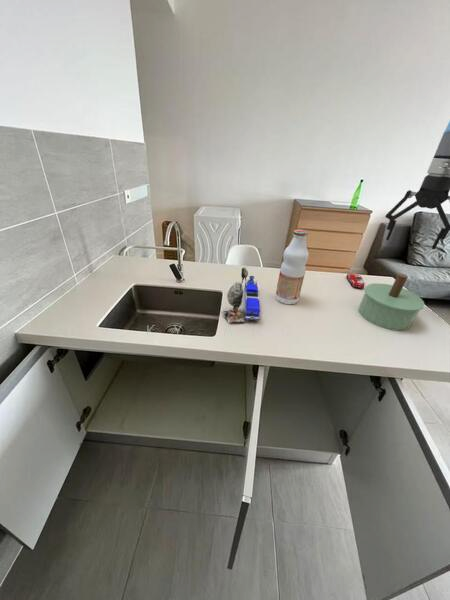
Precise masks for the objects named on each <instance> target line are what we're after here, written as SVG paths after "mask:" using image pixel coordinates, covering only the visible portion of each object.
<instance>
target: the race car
mask: <svg viewBox="0 0 450 600" xmlns="http://www.w3.org/2000/svg"><path fill="white" fill-rule="evenodd" d="M346 280H348V282H349V284H350V286H351V287H353V288H358V289H365V286H366V285H365V284H366V283H365V281H364V279H363V276H362V275H359V274H357V273H353V272H349V273H347V274H346Z"/></svg>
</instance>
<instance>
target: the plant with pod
mask: <svg viewBox="0 0 450 600" xmlns="http://www.w3.org/2000/svg"><path fill="white" fill-rule="evenodd" d="M240 275H241V281H238V282H237V281H236V282H234V283H233V284H232V285H231V286H230V287H229V289H228V291H227V293H226V299H227V302H228V304H229V305H230V306H231V307H232V309H229V310H224V311H222V315H223V317H224V318H225V319H226V320H227V322H228V324H231V323H243V324H244V323H245V322H246V319H245V313H244V312H242V311H241V310H240V309H239V308H240V307H241V305H242V303H243V298H244V297H243V296H244V289H243V288H244V287H243V283H244V282H245V281H246V282H247V281H248V280H247V278H248V277H249V272H248V269H247V268H246V267H242V268H241V273H240Z"/></svg>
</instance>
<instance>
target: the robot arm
mask: <svg viewBox="0 0 450 600" xmlns="http://www.w3.org/2000/svg"><path fill="white" fill-rule="evenodd" d="M447 123H448V124H447V126H446V127H445V129H444V132H442V136H441V138H440V141H439V143H438V145H437V147H436V150H435V154H434V156H433V158H432V159H431V162H430V164H429V167H428V169H427V171H426V173H427V175H426V176H424V178H423V180H422V182H421V185H420V187H419V189H418V191H413V190H411V189H409V190H407V191H406V193H405V194H404V196H403V197H402V198H401V199H400V200H399V201H398V203H396V204H395V205H394V206H393V207H392V208H391V209H390V211H388V212H387V213H386V215H384V216H385V218H386V219H388V220H389V222H388V224H387V227H386V230H388V231H389V232H388V233H387V237H386V241H389V240H390V239H391V236H392V233H393V230H394V229H395V226H396V223H397V220H396V219H398V218H400V217H402V216H403V215H405V214H406V213H408V212H409V211H412V209H415V208H416V207H419V208H421V209H423V208H427V209H431V210H432V209H436V211H437V212H438V215H439V217H440V219H441V221H442V224H443V226H444V227H441V228H440V230H439V232H438V235H437V236H436V238H435V240H434V242H433V244H432V246H431V250H436V248H437V246H438V244H439V243H440V240H445V239H446V238H447V236H448V234H449V232H450V221H449V220H448V217H447V215H446V213H445V210H444V209H443V206H442V204H443V203H445V202H446V201H447V200H448V201H449V203H450V195H449V193H450V120H449V121H448V122H447ZM413 197H414V198H415V201H414V202H413V203H411V204H410V205H407V206H406V207H404V208H403V209H401V210H400V211H398V212H397V213H396V214H394V213H395V212H396V211H397V210H398V209H399V208H400V207H402V205H403V204H405V202H407V200H408V199H411V198H413ZM393 214H394V215H393Z"/></svg>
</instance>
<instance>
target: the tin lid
mask: <svg viewBox="0 0 450 600" xmlns="http://www.w3.org/2000/svg"><path fill="white" fill-rule="evenodd" d="M408 278H409V276H408V275H407V274H404V273H397V275H396V277H395V280H394V281H393V284H388V283H378V282H377V283H369V284H367V285H365V286H364V293H366V295H367V296H368V297H370V298H371V299H372V300H374V301H376V302H377V303H379V304H382V305H384V306H387V307H390V308H393V309H397V310H402V311H418V310H419V311H421V310H422V309H424V307H425V301H424V300H423V299H422V298H421V297H420V296H419V295H417V294H415V293H414V292H412V291H410V290H407V289H405V288H404V286H405V284H406V282H407V280H408Z"/></svg>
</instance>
